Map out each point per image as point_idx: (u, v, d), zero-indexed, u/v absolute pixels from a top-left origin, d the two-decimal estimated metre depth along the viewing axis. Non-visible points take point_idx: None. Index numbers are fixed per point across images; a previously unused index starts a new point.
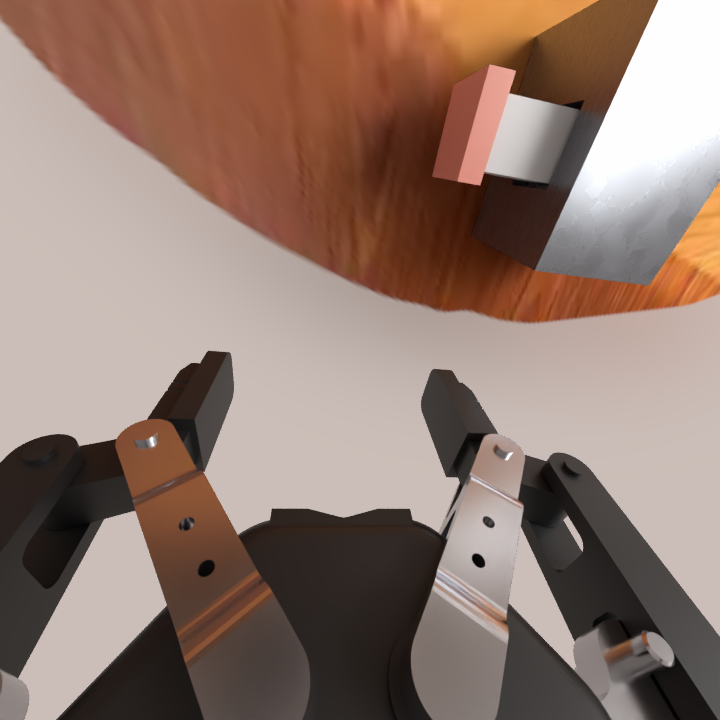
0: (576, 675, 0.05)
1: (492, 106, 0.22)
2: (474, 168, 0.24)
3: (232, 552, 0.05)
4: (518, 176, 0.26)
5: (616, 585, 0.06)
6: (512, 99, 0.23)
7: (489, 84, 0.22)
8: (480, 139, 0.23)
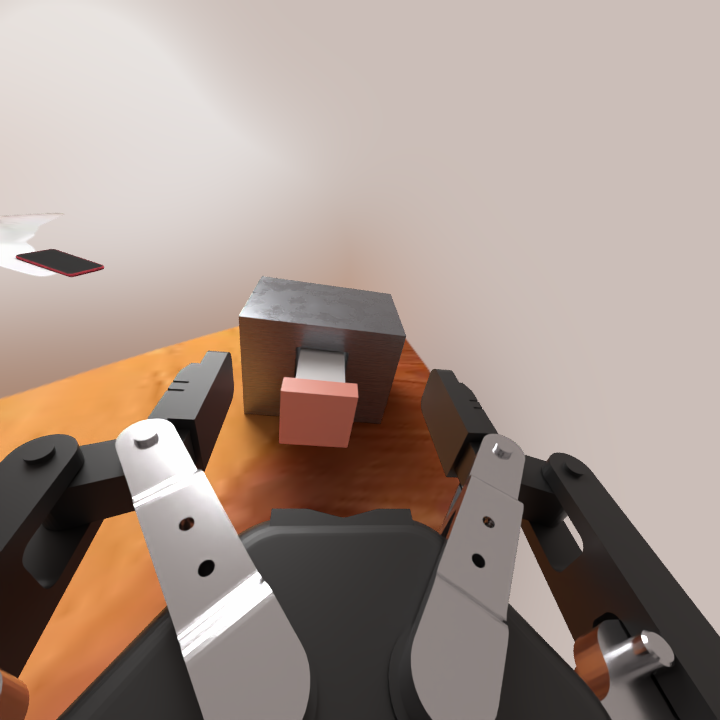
0: (576, 675, 0.05)
1: (305, 385, 0.28)
2: (346, 388, 0.29)
3: (231, 551, 0.05)
4: (343, 369, 0.33)
5: (616, 585, 0.06)
6: None
7: (292, 388, 0.28)
8: (327, 388, 0.28)
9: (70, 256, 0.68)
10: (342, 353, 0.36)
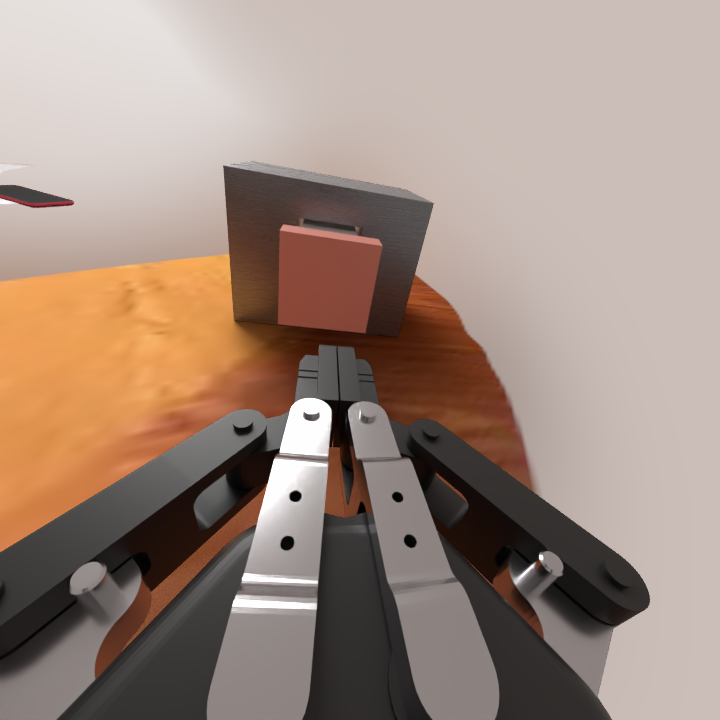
0: (576, 675, 0.05)
1: (312, 231, 0.21)
2: (365, 239, 0.22)
3: (310, 545, 0.05)
4: None
5: (504, 524, 0.07)
6: None
7: (295, 231, 0.21)
8: (340, 236, 0.22)
9: (35, 191, 0.60)
10: (354, 231, 0.29)
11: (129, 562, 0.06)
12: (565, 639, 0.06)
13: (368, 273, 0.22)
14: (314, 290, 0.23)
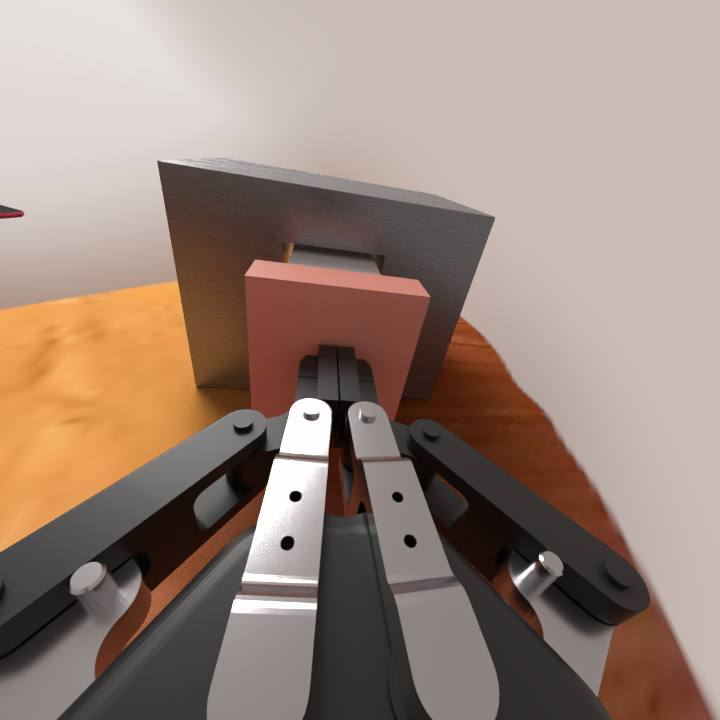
0: (576, 675, 0.05)
1: (305, 273, 0.12)
2: (399, 284, 0.13)
3: (310, 545, 0.05)
4: (378, 273, 0.17)
5: (503, 524, 0.07)
6: None
7: (275, 275, 0.11)
8: (356, 280, 0.12)
9: None
10: (369, 257, 0.20)
11: (129, 562, 0.06)
12: (565, 638, 0.06)
13: (403, 340, 0.13)
14: None
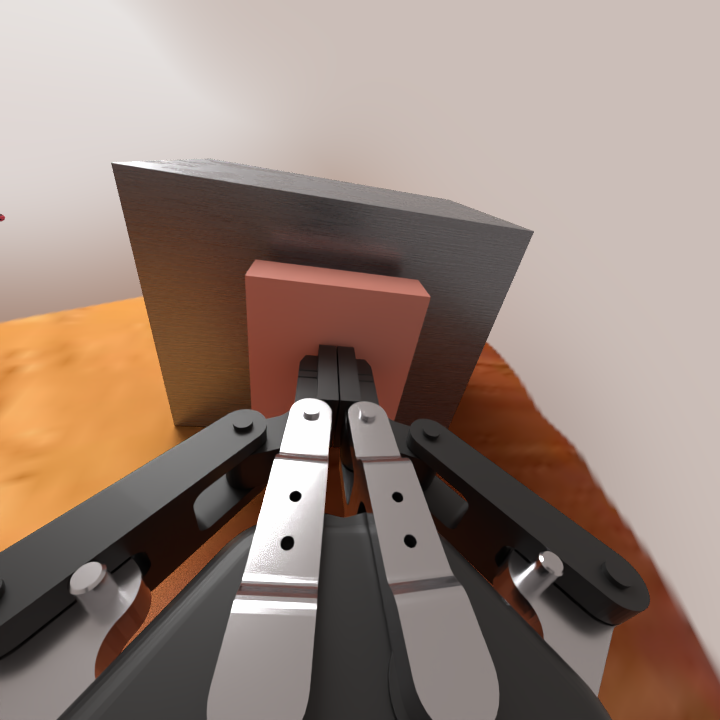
0: (576, 675, 0.05)
1: (305, 272, 0.12)
2: (399, 284, 0.13)
3: (310, 545, 0.05)
4: None
5: (503, 524, 0.07)
6: None
7: (275, 275, 0.11)
8: (356, 280, 0.12)
9: None
10: None
11: (129, 562, 0.06)
12: (565, 639, 0.06)
13: (403, 340, 0.13)
14: None
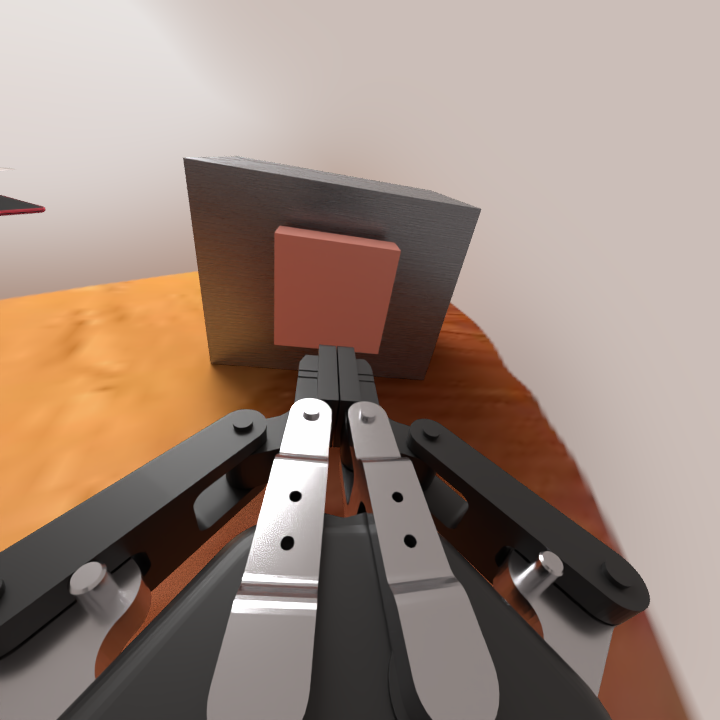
0: (576, 675, 0.05)
1: (314, 234, 0.18)
2: (380, 243, 0.18)
3: (310, 545, 0.05)
4: None
5: (503, 524, 0.07)
6: None
7: (294, 234, 0.17)
8: (349, 240, 0.18)
9: (2, 197, 0.53)
10: None
11: (129, 562, 0.06)
12: (565, 639, 0.06)
13: (383, 284, 0.18)
14: (317, 305, 0.19)
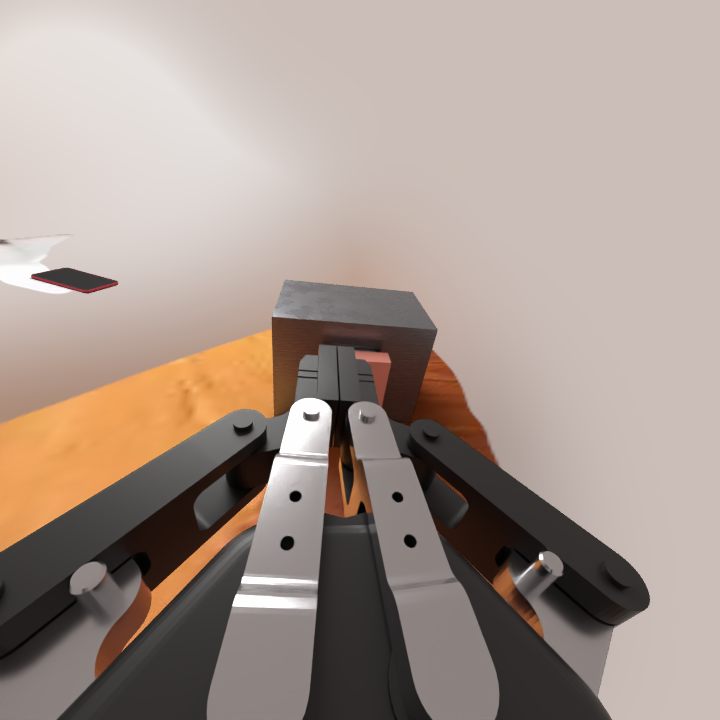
0: (576, 675, 0.05)
1: None
2: (379, 356, 0.33)
3: (310, 545, 0.05)
4: None
5: (503, 524, 0.07)
6: None
7: None
8: (362, 356, 0.32)
9: (84, 273, 0.68)
10: None
11: (129, 562, 0.06)
12: (564, 638, 0.06)
13: (381, 378, 0.33)
14: None
